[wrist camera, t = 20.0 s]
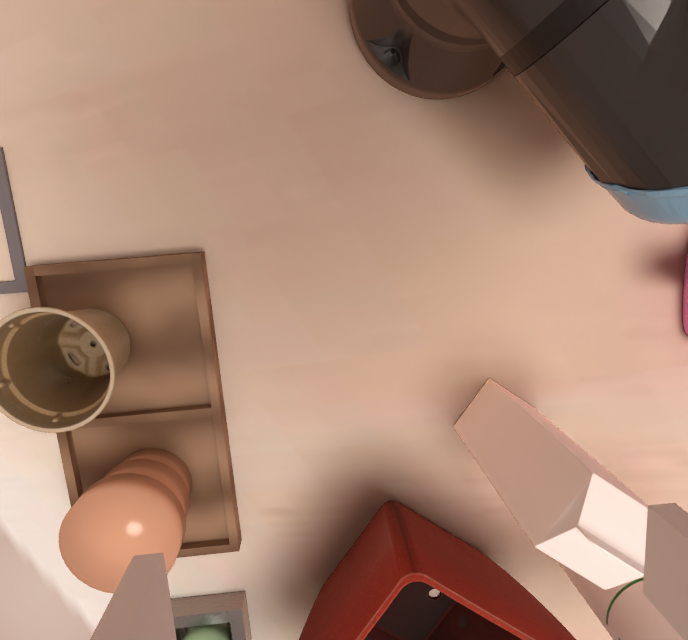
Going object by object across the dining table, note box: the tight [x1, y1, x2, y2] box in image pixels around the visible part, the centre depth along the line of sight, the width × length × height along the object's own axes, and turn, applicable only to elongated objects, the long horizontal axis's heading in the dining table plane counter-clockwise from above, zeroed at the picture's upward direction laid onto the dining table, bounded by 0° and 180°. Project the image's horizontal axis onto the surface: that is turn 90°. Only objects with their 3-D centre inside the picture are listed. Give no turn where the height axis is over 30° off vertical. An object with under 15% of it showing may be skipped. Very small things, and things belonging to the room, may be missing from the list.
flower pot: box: [0, 307, 130, 433], centre depth 42 cm, size 9×9×9 cm
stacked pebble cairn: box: [59, 448, 192, 593], centre depth 45 cm, size 9×9×9 cm
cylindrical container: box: [558, 562, 683, 640], centre depth 42 cm, size 7×7×25 cm
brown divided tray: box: [23, 252, 242, 558], centre depth 48 cm, size 28×15×2 cm, turn 4°
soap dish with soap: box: [171, 591, 251, 640], centre depth 52 cm, size 8×8×2 cm
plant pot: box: [299, 501, 576, 640], centre depth 45 cm, size 19×19×17 cm
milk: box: [453, 378, 648, 590], centre depth 40 cm, size 6×6×22 cm
